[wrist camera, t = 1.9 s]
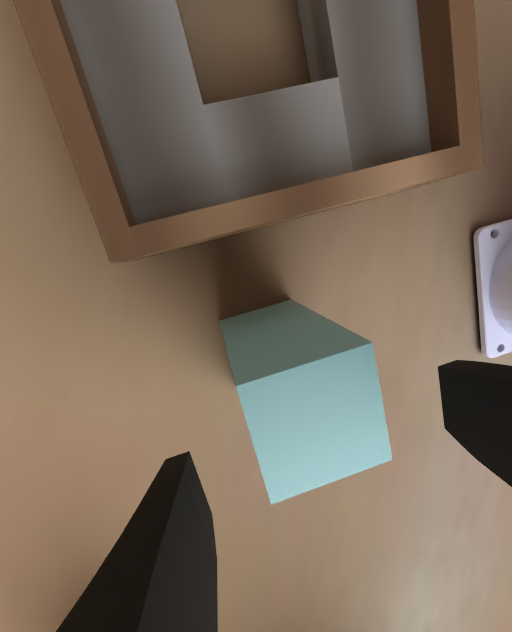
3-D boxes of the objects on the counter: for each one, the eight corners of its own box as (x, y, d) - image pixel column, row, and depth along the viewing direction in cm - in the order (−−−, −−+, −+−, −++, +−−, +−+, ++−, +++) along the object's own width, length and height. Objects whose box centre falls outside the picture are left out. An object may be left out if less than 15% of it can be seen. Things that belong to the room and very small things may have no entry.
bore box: (372, -193, 12) (450, -393, 9) (416, 187, 16) (483, 166, 12) (-11, -155, 11) (-130, -385, 7) (134, 260, 14) (110, 262, 10)
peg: (291, 299, 16) (372, 342, 8) (306, 366, 17) (392, 459, 9) (218, 320, 16) (236, 386, 8) (239, 388, 17) (271, 504, 9)
